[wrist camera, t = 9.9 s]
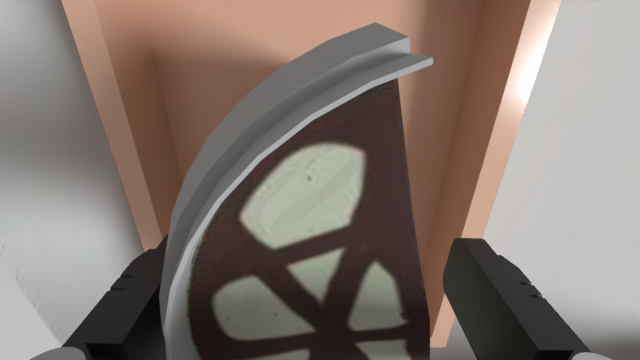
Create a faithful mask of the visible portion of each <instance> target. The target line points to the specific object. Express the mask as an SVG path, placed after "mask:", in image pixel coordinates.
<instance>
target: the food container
mask: <svg viewBox="0 0 640 360" xmlns="http://www.w3.org/2000/svg"><path fill="white" fill-rule="evenodd" d="M432 64H433V57H428V56H422V55H416V54H410V40H409V37H408V36H406V35H404V34H402V33H399V32H397V31H395V30H392V29H390V28H388V27H385V26H383V25H381V24H378V23H376V22H374V23H372V24H369V25H366V26H364V27H361V28H358V29H356V30H353V31H351V32H348V33H345V34H343V35H340V36H337V37H335V38H332V39H329V40H327V41H325V42H323V43H322V44H320V45H318V46H316V47H315V48H313V49H311V50H310V51H308V52H306V53H304V54H303V55H301V56H299V57H297V58H296V59H294V60H292V61H290V62H289V63H287V64H285V65H283V66H282V67H280V68H279V69H278V70H276V71H275V72H274V73H273V74H272V75H270V76H269V77H268V78H267V79H265V80H264V81H263V82H262V83H261V84H259V85H258V86H257V87H256V88H254V89H253V90H252V91H251V92H250V93H248V94H247V95H246V96H245V97H244V98H242V99H241V100H240V101H239V102H238V103H237V104H236V106H235V107H234V108H233V109H232V110H231V111H230V113H229V114H228V115H227V116H226V117H225V118H224V120H223V121H222V122H221V123H220V124H219V125H218V126H217V128H216V129H215V130H214V131H213V132H212V133H211V135H210V136H209V137H208V138H207V140H206V142H205V143H204V145H203V147H202V149H201V150H200V152H199V154H198V155H197V157H196V159H195V160H194V162H193V164H192V165H191V167H190V169H189V171H188V172H187V174H186V176H185V178H184V181H183V184H182V187H181V190H180V192H179V195H178V198H177V201H176V204H175V206H174V209H173V212H172V216H171V222H170V228H169V234H168V240H167V247H166V253H165V259H164V266H163V273H162V280H161V287H160V293H159V302H160V313H161V325H162V332H163V335H164V338H165V346H166V357H167V360H430V316H429V310H428V304H427V298H426V292H425V287H424V281H423V276H422V271H421V264H420V257H419V251H418V244H417V237H416V231H415V224H414V218H413V209H412V200H411V191H410V182H409V173H408V165H407V156H406V147H405V138H404V129H403V120H402V111H401V103H400V94H399V85H398V77H401V76H403V75H406V74H409V73H411V72H414V71H417V70H419V69H422V68H424V67H427V66H430V65H432Z"/></svg>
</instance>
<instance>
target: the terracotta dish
mask: <svg viewBox="0 0 640 360" xmlns="http://www.w3.org/2000/svg"><path fill="white" fill-rule="evenodd" d="M61 1H62V4H63V7H64V10H65V13H66V16H67V19H68V22H69V25H70V28H71V31H72V34H73V37H74V40H75V43H76V46H77V49H78V52H79V55H80V58H81V61H82V64H83V68H84V71H85V74H86V77H87V80H88V83H89V86H90V89H91V92H92V95H93V98H94V101H95V104H96V107H97V110H98V113H99V116H100V119H101V122H102V125H103V128H104V131H105V134H106V137H107V140H108V143H109V146H110V149H111V152H112V155H113V158H114V161H115V164H116V167H117V170H118V173H119V176H120V179H121V182H122V185H123V188H124V191H125V194H126V197H127V201H128V204H129V207H130V210H131V213H132V216H133V219H134V222H135V225H136V228H137V231H138V234H139V237H140V240H141V243H142V246H143V249H144V252H146V251H147V250H148V249H156V248H157V247H158V245H159V244H160V243H161V241H162V240H163V239H164V237H165V236H166V235H167V234H168V233H169V228H170V222H171V216H172V212H173V209H174V206H175V204H176V201H177V198H178V195H179V192H180V190H181V187H182V184H183V181H184V178H185V176H186V174H187V172H188V171H189V169H190V167H191V165H192V164H193V162H194V160H195V159H196V157H197V155H198V154H199V152H200V150H201V149H202V147H203V145H204V143H205V142H206V140H207V138H208V137H209V136H210V135H211V133H212V132H213V131H214V130H215V129H216V128H217V126H218V125H219V124H220V123H221V122H222V121H223V120H224V118H225V117H226V116H227V115H228V114H229V113H230V111H231V110H232V109H233V108H234V107H235V106H236V104H237V103H238V102H239V101H240V100H241V99H242V98H244V97H245V96H246V95H247V94H248V93H250V92H251V91H252V90H253V89H254V88H256V87H257V86H258V85H259V84H261V83H262V82H263V81H264V80H265V79H267V78H268V77H269V76H270V75H272V74H273V73H274V72H275V71H276V70H278V69H279V68H280V67H282V66H283V65H285V64H287V63H289V62H290V61H292V60H294V59H296V58H297V57H299V56H301V55H303V54H304V53H306V52H308V51H310V50H311V49H313V48H315V47H316V46H318V45H320V44H322V43H323V42H325V41H327V40H329V39H332V38H335V37H337V36H340V35H343V34H345V33H348V32H351V31H353V30H356V29H358V28H361V27H364V26H366V25H369V24H372V23H374V22H376V23H378V24H381V25H383V26H385V27H388V28H390V29H392V30H395V31H397V32H399V33H402V34H404V35H406V36H408V37H409V40H410V54H416V55H422V56H428V57H433V64H432V65H430V66H427V67H424V68H422V69H419V70H417V71H414V72H411V73H409V74H406V75H403V76H401V77H398V85H399V94H400V103H401V111H402V120H403V129H404V138H405V147H406V156H407V165H408V173H409V182H410V191H411V200H412V209H413V218H414V224H415V231H416V237H417V244H418V251H419V257H420V264H421V271H422V276H423V281H424V287H425V292H426V298H427V304H428V310H429V316H430V348H445V347H446V344H447V341H448V338H449V335H450V332H451V329H452V326H453V323H454V320H455V317H456V315H455V313H454V311H453V309H452V307H451V305H450V303H449V301H448V299H447V297H446V295H445V292H444V288H443V272H444V269H445V266H446V262H447V259H448V255H449V252H450V249H451V245H452V242H453V240H454V239H455V238H482V236H483V233H484V230H485V227H486V224H487V221H488V218H489V215H490V212H491V209H492V206H493V203H494V200H495V197H496V194H497V191H498V188H499V185H500V182H501V180H502V177H503V174H504V171H505V168H506V165H507V162H508V159H509V156H510V153H511V150H512V147H513V144H514V141H515V138H516V135H517V132H518V129H519V126H520V123H521V120H522V117H523V114H524V111H525V108H526V105H527V102H528V99H529V96H530V93H531V90H532V87H533V84H534V81H535V78H536V75H537V72H538V69H539V66H540V63H541V60H542V57H543V54H544V51H545V48H546V45H547V42H548V39H549V36H550V33H551V30H552V27H553V24H554V21H555V18H556V15H557V12H558V9H559V6H560V3H561V0H61Z"/></svg>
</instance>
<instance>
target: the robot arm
mask: <svg viewBox="0 0 640 360" xmlns="http://www.w3.org/2000/svg"><path fill="white" fill-rule="evenodd" d="M168 234H169V233H168ZM168 234H167V235H166V236H165V237H164V239H163V240H162V241H161V243H160V244H159V245H158V247H157V248H156V249H148V250H147V251H146V252H144V253H143V254H141V255H140V256H139V257H137V258H136V259H134V260H133V261H132V262H131V263H130V265H129V266H128V267H127V268H126V269H125V271H124V272H123V273H122V274H121V277H120V278H118V279H117V280H116V282H115V283H114V284H113V285H112V286H111V288H110V291H107V293H106V294H105V295H104V296H103V297H102V299H101V300H100V301H99V302H98V304H97V305H96V306H95V307H94V308H93V310H92V311H91V312H90V313H89V314H88V316H87V317H86V318H85V319H84V321H83V322H82V323H81V324H80V325H79V327H78V328H77V329H76V330H75V332H74V333H73V334H72V335H71V336H70V338H69V339H68V340H67V341H66V342H65V344H64V345H63V346H62V347H61V348H56V349H53V350H49V351H47V352H44V353H42V354H40V355H38V356H36V357H34V358H32V359H30V360H167V357H166V346H165V338H164V335H163V332H162V325H161V313H160V302H159V293H160V287H161V280H162V273H163V266H164V259H165V253H166V247H167V240H168ZM443 288H444V292H445V295H446V297H447V299H448V301H449V303H450V305H451V307H452V309H453V311H454V313H455V315H456V317H457V319H458V321H459V323H460V325H461V327H462V329H463V331H464V333H465V335H466V337H467V340H468V342H469V344H470V346H471V348H472V350H473V352H474V354H475V356H476V358H477V360H612V359H610V358H608V357H605V356H602V355H599V354H595V353H592V352H591V351H590V350H589V349H588V348H587V347H586V346H585V344H584V343H583V342H582V341H581V340H580V339H579V338H578V336H577V335H576V334H575V333H574V332H573V331H572V329H571V328H570V327H569V326H568V325H567V324H566V322H565V321H564V320H563V319H562V318H561V317H560V315H559V314H558V313H557V312H556V311H555V310H554V308H553V307H552V306H551V305H550V304H549V303H548V302H547V300H546V299H545V298H542V295H541V293H540V292H539V291H538V290H537V289H536V288H535V286H532V285H531V282H530V281H529V279H528V278H527V277H526V276H525V275H524V274H523V272H522V271H521V270H520V269H519V268H518V267H517V266H515V265H514V264H512V263H511V262H510V261H508V260H507V259H505V258H504V257H503V256H501V255H497V254H496V253H495V252H494V251H493V250H492V248H491V247H490V246H489V245H488V243H487V242H486V241H485V240H484V239H482V238H455V239H454V240H453V242H452V245H451V249H450V252H449V255H448V259H447V262H446V266H445V269H444V272H443Z"/></svg>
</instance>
